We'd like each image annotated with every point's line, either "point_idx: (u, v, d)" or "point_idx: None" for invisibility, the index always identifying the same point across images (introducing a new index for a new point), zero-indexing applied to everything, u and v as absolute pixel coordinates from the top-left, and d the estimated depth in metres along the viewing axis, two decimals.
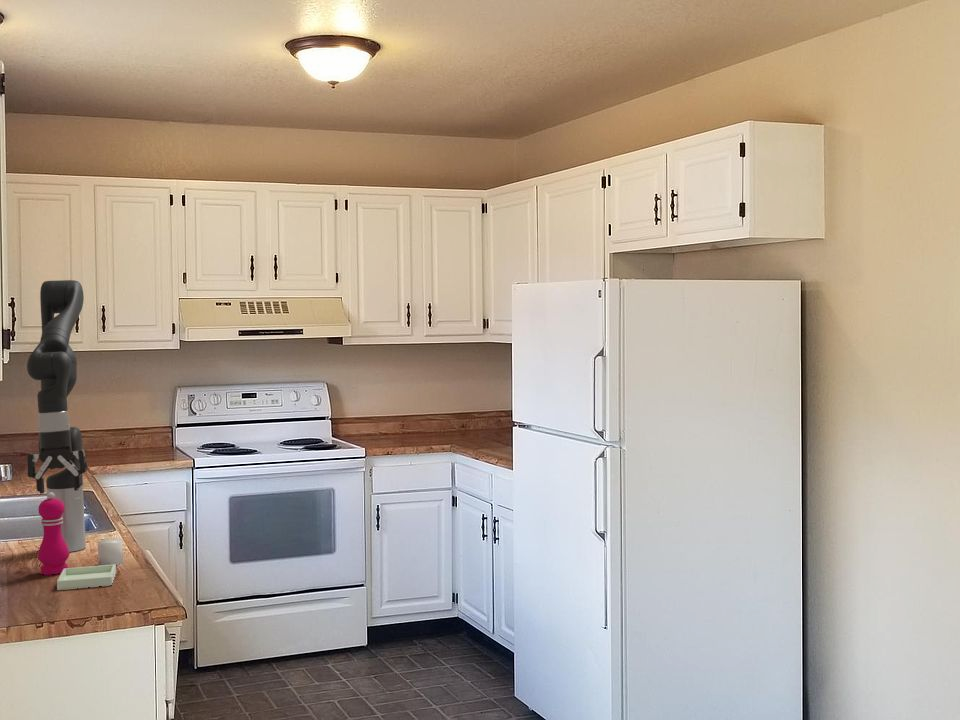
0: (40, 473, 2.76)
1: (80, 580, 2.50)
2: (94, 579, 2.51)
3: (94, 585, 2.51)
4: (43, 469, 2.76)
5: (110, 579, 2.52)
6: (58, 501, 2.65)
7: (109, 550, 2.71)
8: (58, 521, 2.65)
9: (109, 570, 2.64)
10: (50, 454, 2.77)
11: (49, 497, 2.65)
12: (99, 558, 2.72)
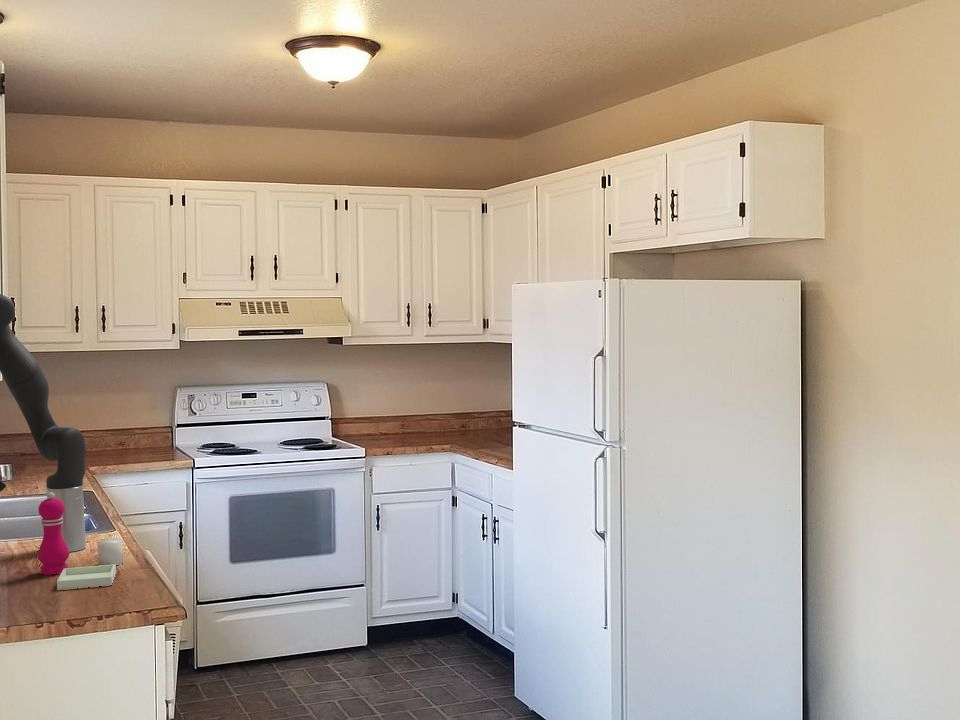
0: None
1: (80, 580, 2.50)
2: (94, 579, 2.51)
3: (94, 585, 2.51)
4: None
5: (110, 579, 2.52)
6: (58, 501, 2.65)
7: (109, 550, 2.71)
8: (58, 521, 2.65)
9: (109, 570, 2.64)
10: None
11: (49, 497, 2.65)
12: (99, 558, 2.72)
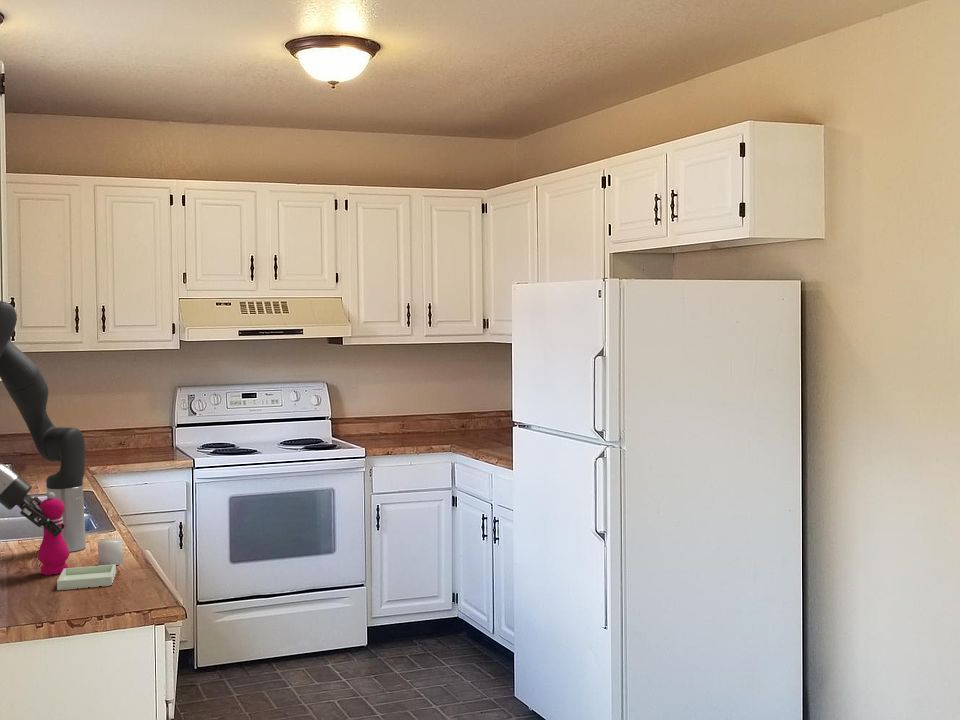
0: None
1: (80, 580, 2.50)
2: (94, 579, 2.51)
3: (94, 585, 2.51)
4: None
5: (110, 579, 2.52)
6: (58, 501, 2.65)
7: (108, 550, 2.71)
8: (58, 521, 2.65)
9: (109, 570, 2.64)
10: None
11: (49, 497, 2.65)
12: (99, 558, 2.72)
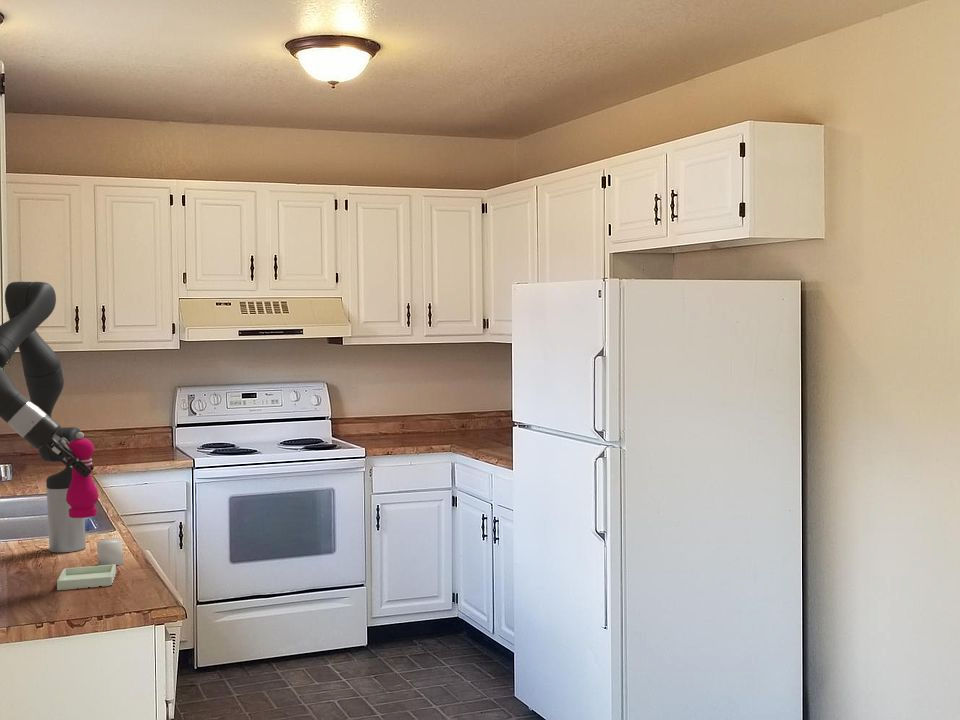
0: None
1: (80, 580, 2.50)
2: (94, 579, 2.51)
3: (94, 585, 2.51)
4: None
5: (110, 579, 2.52)
6: (88, 441, 2.54)
7: (107, 550, 2.71)
8: (87, 462, 2.54)
9: (109, 570, 2.64)
10: None
11: (78, 437, 2.54)
12: (98, 558, 2.72)
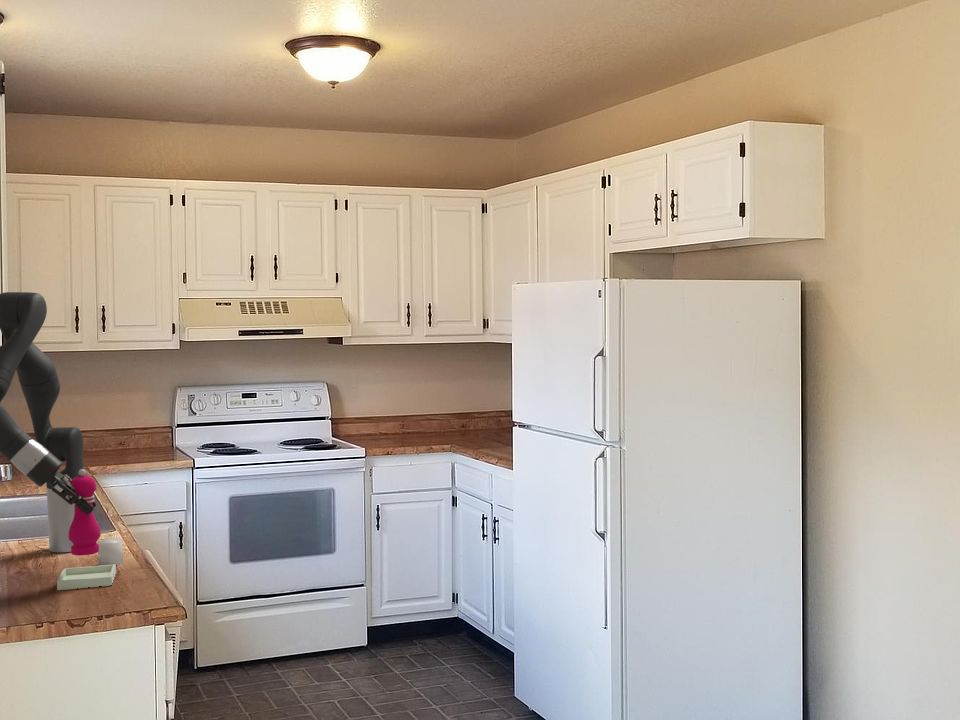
0: None
1: (80, 580, 2.50)
2: (94, 579, 2.51)
3: (94, 585, 2.51)
4: None
5: (110, 579, 2.52)
6: (90, 478, 2.55)
7: (107, 551, 2.70)
8: (90, 499, 2.55)
9: (109, 570, 2.64)
10: None
11: (81, 474, 2.55)
12: (98, 558, 2.72)
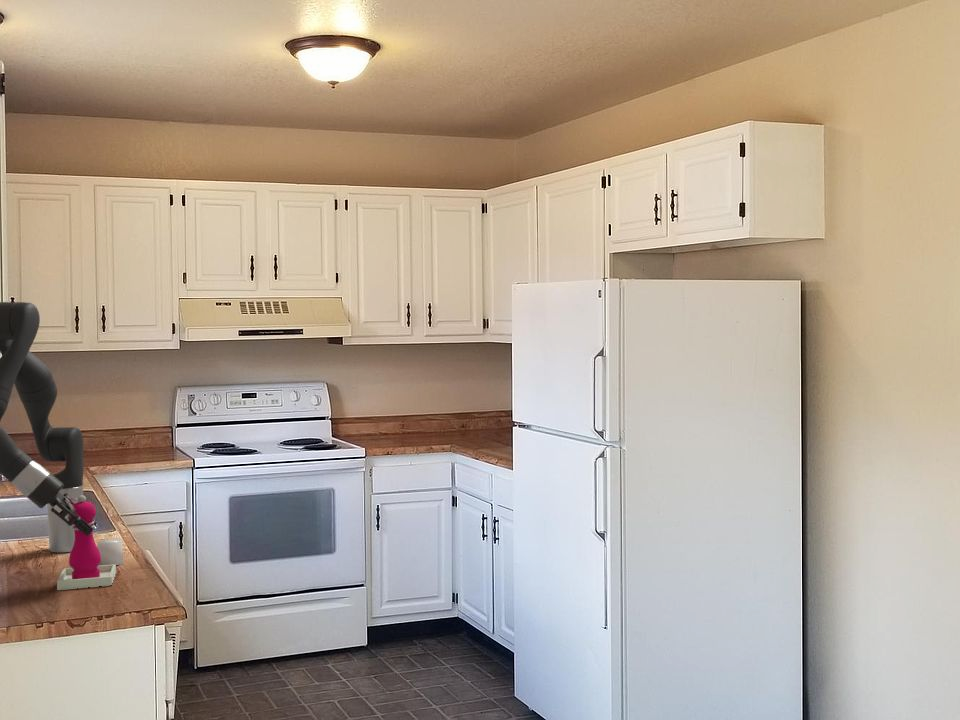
0: None
1: (80, 580, 2.50)
2: (94, 579, 2.51)
3: (94, 585, 2.51)
4: None
5: (110, 579, 2.52)
6: (89, 504, 2.56)
7: (106, 550, 2.71)
8: (90, 525, 2.55)
9: (109, 570, 2.64)
10: None
11: (80, 500, 2.55)
12: None
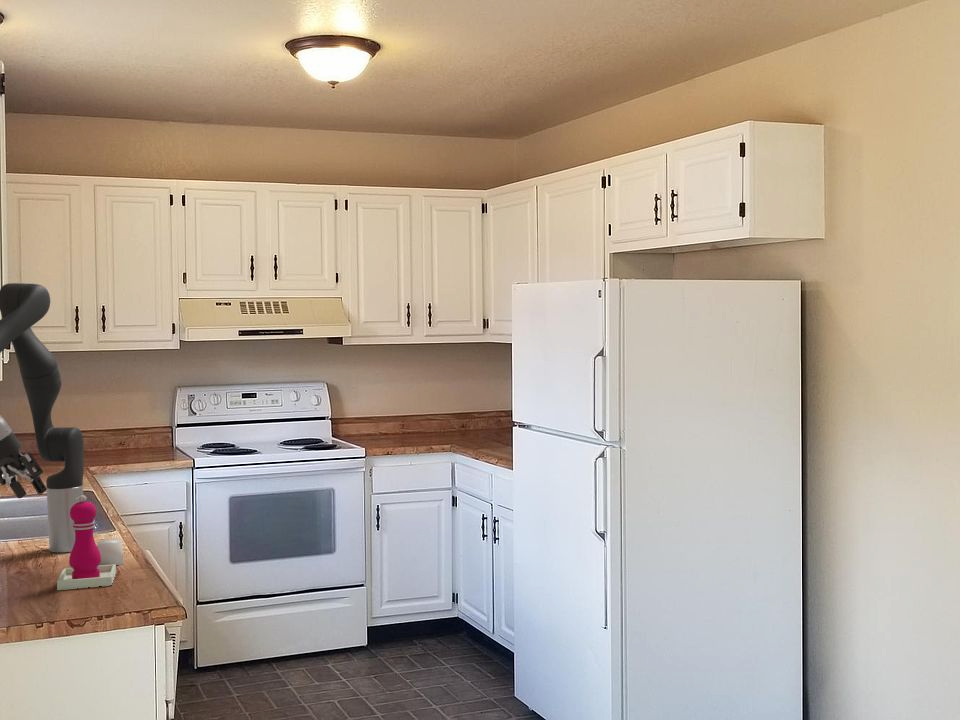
0: (7, 481, 2.58)
1: (80, 580, 2.50)
2: (94, 579, 2.51)
3: (94, 585, 2.51)
4: (6, 478, 2.57)
5: (110, 579, 2.52)
6: (90, 504, 2.56)
7: (106, 551, 2.70)
8: (90, 525, 2.55)
9: (109, 570, 2.64)
10: (4, 463, 2.55)
11: (81, 500, 2.56)
12: None
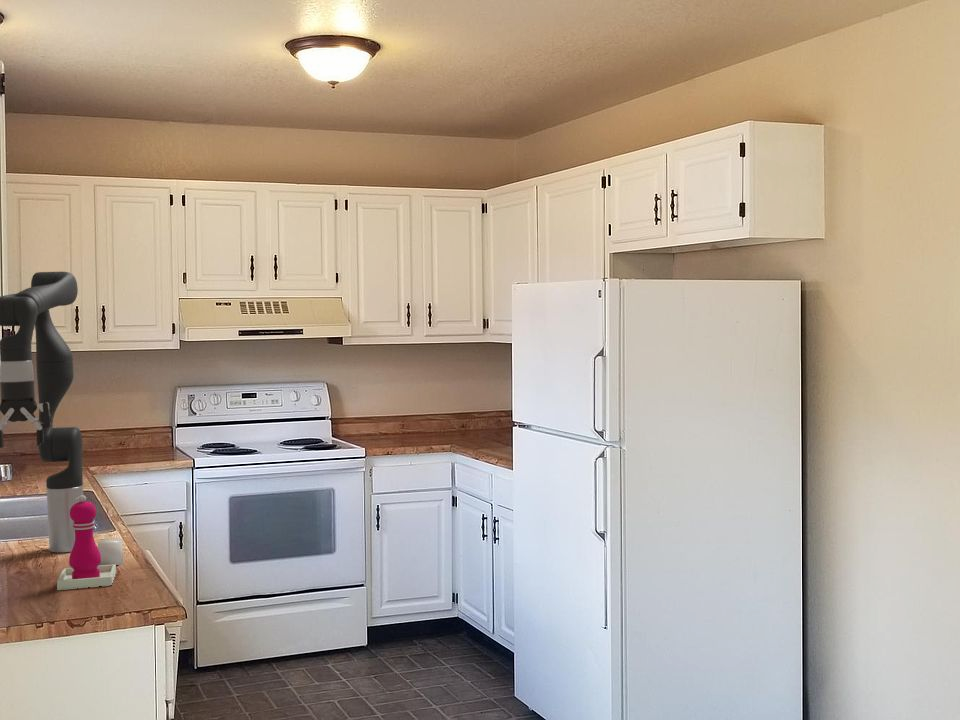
0: (0, 426, 2.58)
1: (80, 580, 2.50)
2: (94, 579, 2.51)
3: (94, 585, 2.51)
4: (4, 422, 2.58)
5: (110, 579, 2.52)
6: (90, 504, 2.56)
7: (106, 550, 2.71)
8: (90, 525, 2.55)
9: (109, 570, 2.64)
10: (12, 406, 2.59)
11: (81, 500, 2.56)
12: None
